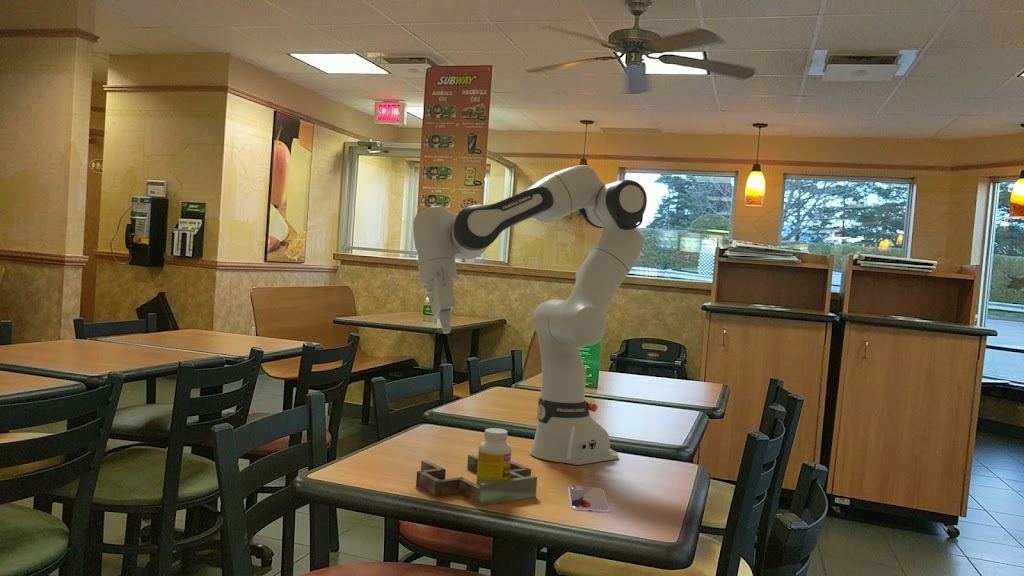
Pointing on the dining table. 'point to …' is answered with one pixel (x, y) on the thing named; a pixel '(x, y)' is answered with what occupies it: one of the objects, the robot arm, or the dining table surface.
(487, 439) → the supplement bottle
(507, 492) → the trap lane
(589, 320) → the robot arm
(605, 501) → the mobile phone
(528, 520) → the dining table surface
